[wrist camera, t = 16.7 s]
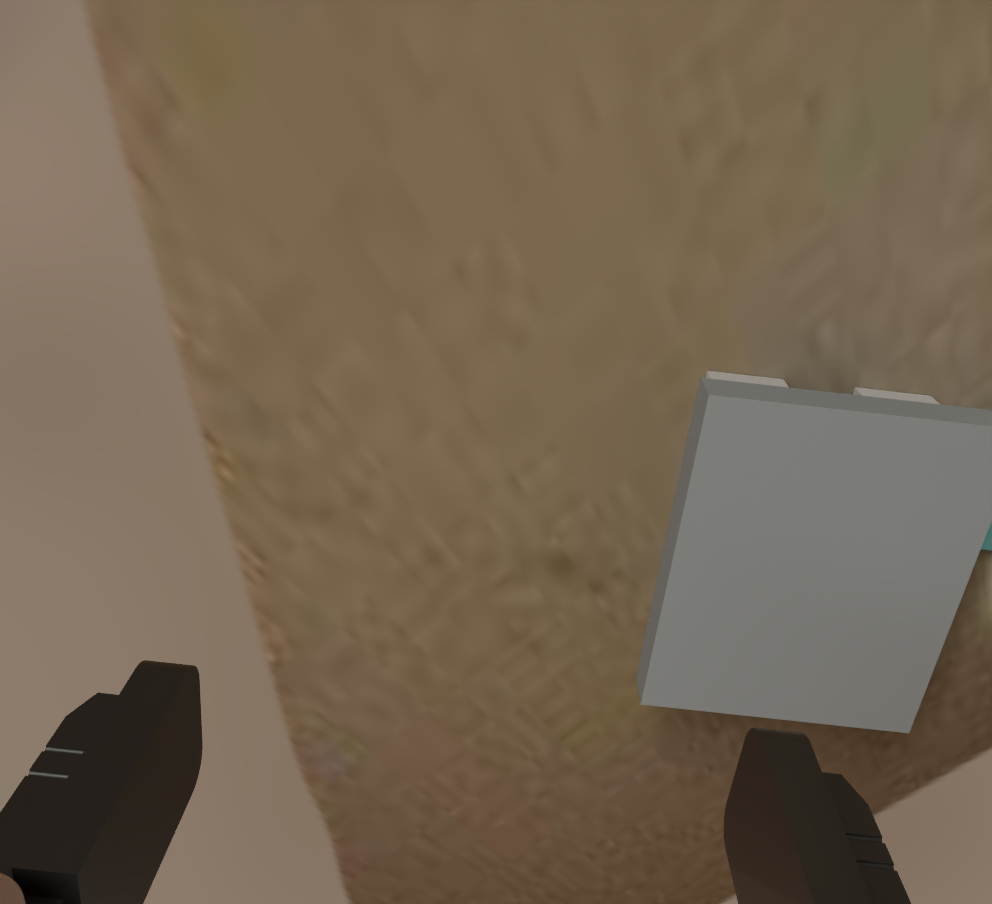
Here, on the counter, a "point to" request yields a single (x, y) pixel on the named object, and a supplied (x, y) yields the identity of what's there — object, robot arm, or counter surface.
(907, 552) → the grey stool
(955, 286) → the counter surface
